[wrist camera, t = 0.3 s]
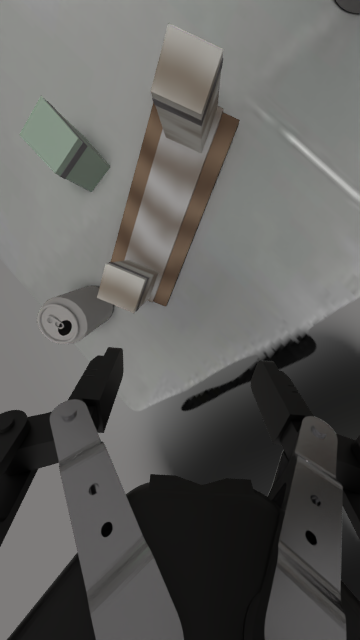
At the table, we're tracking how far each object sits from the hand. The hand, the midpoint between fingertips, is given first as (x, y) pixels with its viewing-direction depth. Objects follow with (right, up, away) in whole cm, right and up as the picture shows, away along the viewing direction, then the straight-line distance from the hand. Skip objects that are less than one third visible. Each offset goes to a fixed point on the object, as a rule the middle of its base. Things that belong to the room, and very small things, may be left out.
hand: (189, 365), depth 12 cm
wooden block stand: (-3, +20, +22) cm, 30 cm away
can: (-17, +6, +29) cm, 34 cm away
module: (-15, +28, +21) cm, 38 cm away
